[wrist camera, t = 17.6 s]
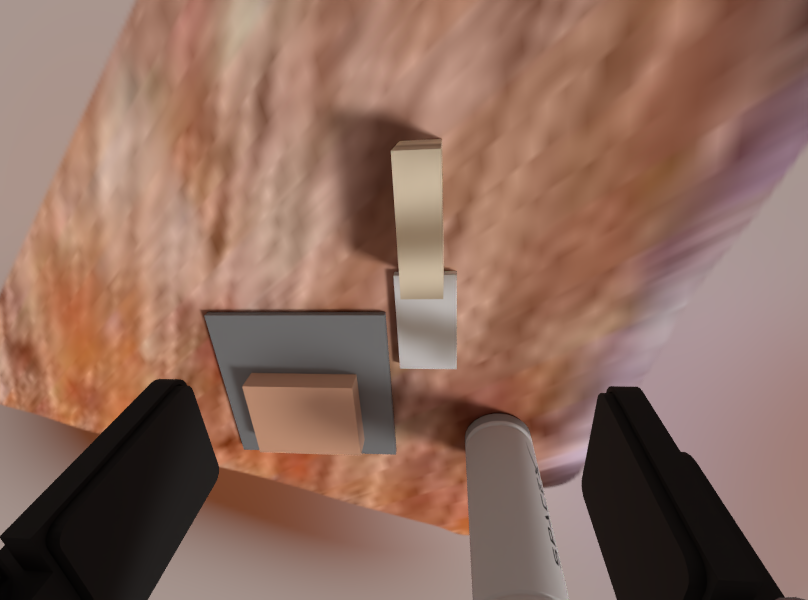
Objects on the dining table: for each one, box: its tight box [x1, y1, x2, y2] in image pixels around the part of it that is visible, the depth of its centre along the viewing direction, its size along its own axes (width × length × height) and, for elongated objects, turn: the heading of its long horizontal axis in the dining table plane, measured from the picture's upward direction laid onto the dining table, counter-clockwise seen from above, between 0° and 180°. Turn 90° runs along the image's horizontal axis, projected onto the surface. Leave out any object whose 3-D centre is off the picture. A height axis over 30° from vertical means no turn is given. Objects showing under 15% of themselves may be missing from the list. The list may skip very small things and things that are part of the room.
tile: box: [242, 373, 365, 455], centre depth 40 cm, size 2×10×8 cm
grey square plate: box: [204, 312, 396, 455], centre depth 41 cm, size 16×16×1 cm
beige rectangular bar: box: [391, 139, 457, 369], centre depth 32 cm, size 19×5×5 cm, turn 3°
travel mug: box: [465, 414, 569, 600], centre depth 33 cm, size 6×7×20 cm
